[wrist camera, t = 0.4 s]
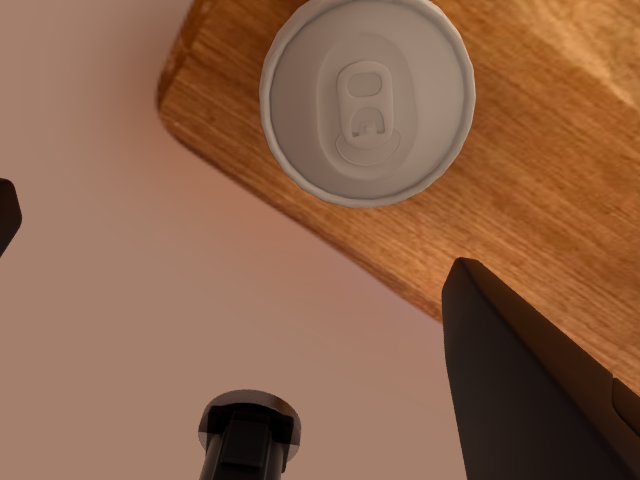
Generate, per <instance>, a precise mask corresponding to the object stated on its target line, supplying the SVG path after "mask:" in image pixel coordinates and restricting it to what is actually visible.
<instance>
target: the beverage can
mask: <svg viewBox="0 0 640 480" xmlns="http://www.w3.org/2000/svg"><path fill="white" fill-rule="evenodd" d="M259 99H260V115H261V125H262V128H263V131H264V134H265V137H266V140H267V143H268V146H269V149H270V151H271V153H272V154H273V156H274V157H275V159H276V160H277V162H278V164H279V165H280V167H281V168H282V170H283V172H284V173H285V174H287V175H288V176H289V177H290V178H291V179H292V180H293V181H294V182H295V183H296V184H297V185H298V186H299V187H300V188H302V189H303V190H305V191H306V192H308V193H310V194H312V195H314V196H315V197H317V198H319V199H321V200H323V201H324V202H328V203H332V204H336V205H340V206H344V207H347V208H377V207H382V206H386V205H391V204H395V203H399V202H401V201H403V200H405V199H407V198H409V197H411V196H414V195H416V194H418V193H420V192H422V191H423V190H424V189H426V188H427V187H428V186H429V185H431V184H432V183H433V182H434V181H435V180H437V179H438V178H439V177H440V176H441V175H443V174H444V172H445V171H446V170H447V168H448V167H449V166H450V164H451V163H452V162H453V161H454V159H455V158H456V157H457V155H458V154H459V153H460V151H461V149H462V146H463V144H464V142H465V139H466V137H467V135H468V132H469V130H470V128H471V124H472V118H473V112H474V106H475V100H476V92H475V82H474V72H473V66H472V64H471V61H470V58H469V56H468V53H467V51H466V48H465V46H464V43H463V40H462V38H461V36H460V34H459V32H458V31H457V29H456V28H455V27H454V26H453V24H452V23H451V22H450V20H449V19H448V18H447V17H446V15H445V14H444V13H443V11H442V10H441V9H440V8H439V7H437V6H436V5H434V4H433V3H432V2H430V1H429V0H310V1H308V2H307V3H305V4H304V5H302V6H301V7H299V8H298V9H297V10H296V11H295V12H294V14H293V15H292V16H291V17H290V18H289V19H288V21H287V22H286V23H285V24H284V25H283V26H282V28H281V29H280V30H279V31H278V32H277V34H276V37H275V39H274V41H273V43H272V45H271V47H270V49H269V51H268V53H267V55H266V57H265V59H264V64H263V70H262V75H261V80H260V85H259Z"/></svg>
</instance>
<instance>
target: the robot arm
mask: <svg viewBox="0 0 640 480" xmlns="http://www.w3.org/2000/svg"><path fill="white" fill-rule="evenodd" d="M21 222H22V214H21V210H20V206H19V202H18V198H17V194H16V190H15V187H14V185H13V183H12V182H11V181H9V180H7V179H3V178H0V257H1V256H2V254H3V253H4V251H5V250H6V248H7V246H8V245H9V243H10V242H11V240H12V239H13V237H14V236H15V234H16V232H17V231H18V229H19V228H20V225H21ZM442 314H443V329H444V330H443V331H444V346H445V359H446V366H447V373H448V378H449V382H450V388H451V394H452V400H453V405H454V410H455V415H456V421H457V426H458V432H459V437H460V443H461V448H462V454H463V459H464V464H465V470H466V475H467V480H640V397H639V396H638V395H636V394H635V393H634V392H633V391H632V390H630V389H629V388H628V387H627V386H626V385H625V384H623V383H622V382H621V381H620V380H619V379H618V378H613V375H612V373H610V372H609V371H608V370H607V369H606V368H604V367H603V366H602V365H601V364H600V363H599V362H597V361H596V360H595V359H594V358H593V357H591V356H590V355H589V354H588V353H587V352H586V351H584V350H583V349H582V348H581V347H580V346H578V345H577V344H576V343H575V342H574V341H573V340H571V339H570V338H569V337H568V336H567V335H565V334H564V333H563V332H562V331H561V330H560V329H558V328H557V327H556V326H555V325H554V324H552V323H551V322H550V321H549V320H548V319H547V318H545V317H544V316H543V315H542V314H541V313H540V312H538V311H537V310H536V309H535V308H534V307H532V306H531V305H530V304H529V303H528V302H527V301H525V300H524V299H523V298H522V297H521V296H519V295H518V294H517V293H516V292H515V291H514V290H512V289H511V288H510V287H509V286H508V285H506V284H505V283H504V282H503V281H502V280H501V279H499V278H498V277H497V276H496V275H495V274H493V273H492V272H491V271H490V270H489V269H488V268H486V267H485V266H484V265H483V264H482V263H480V262H479V261H478V260H475V259H469V258H463V257H459V258H457V259H456V260H455V261H454V263H453V265H452V268H451V270H450V272H449V275H448V277H447V279H446V282H445V284H444V286H443V290H442ZM293 428H294V418H293V417H292V416H288V415H281V414H274V413H267V412H260V411H253V410H246V409H239V408H232V407H225V406H218V405H213V406H211V407H210V409H209V412H208V422H207V440H206V458H205V462H204V465H203V469H202V472H201V475H200V479H199V480H280V478H281V473H283V472H285V468H286V463H287V458H288V453H289V448H290V443H291V438H292V433H293Z"/></svg>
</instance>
